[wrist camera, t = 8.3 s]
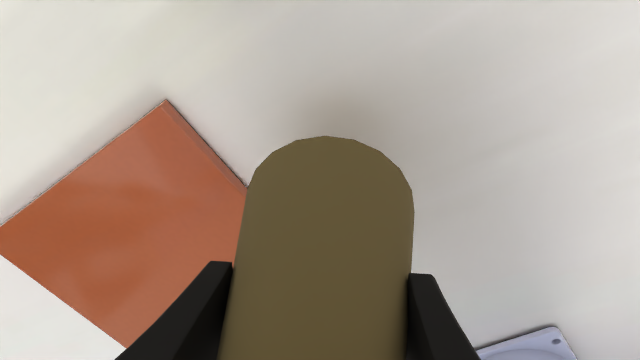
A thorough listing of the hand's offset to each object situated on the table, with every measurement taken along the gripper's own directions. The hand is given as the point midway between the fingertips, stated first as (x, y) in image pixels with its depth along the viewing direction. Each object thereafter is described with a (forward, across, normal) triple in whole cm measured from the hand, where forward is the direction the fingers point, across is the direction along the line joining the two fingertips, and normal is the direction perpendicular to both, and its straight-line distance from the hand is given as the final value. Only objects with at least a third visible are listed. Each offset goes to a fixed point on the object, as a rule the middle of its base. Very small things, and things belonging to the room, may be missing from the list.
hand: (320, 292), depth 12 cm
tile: (+10, +10, +10) cm, 18 cm away
